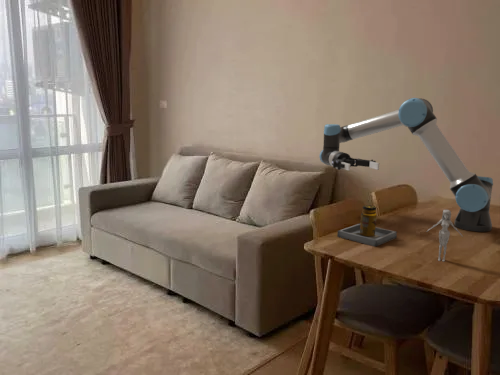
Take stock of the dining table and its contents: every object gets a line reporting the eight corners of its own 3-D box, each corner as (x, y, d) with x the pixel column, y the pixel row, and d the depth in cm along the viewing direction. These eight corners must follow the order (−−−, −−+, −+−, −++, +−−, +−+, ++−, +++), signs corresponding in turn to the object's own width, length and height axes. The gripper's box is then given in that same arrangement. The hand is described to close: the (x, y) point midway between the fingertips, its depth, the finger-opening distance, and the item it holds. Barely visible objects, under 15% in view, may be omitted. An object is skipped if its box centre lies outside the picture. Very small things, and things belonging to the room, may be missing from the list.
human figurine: (423, 258, 173) (428, 208, 169) (424, 255, 176) (429, 206, 173) (459, 264, 168) (465, 213, 164) (460, 260, 171) (466, 211, 168)
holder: (396, 237, 197) (396, 231, 196) (375, 246, 184) (375, 240, 184) (359, 229, 208) (359, 223, 208) (337, 236, 196) (337, 230, 195)
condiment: (379, 236, 195) (382, 207, 193) (363, 239, 191) (365, 209, 188) (366, 231, 201) (369, 203, 199) (351, 234, 197) (353, 205, 195)
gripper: (364, 167, 227) (389, 174, 207) (314, 169, 219) (336, 176, 200) (365, 151, 225) (390, 157, 205) (315, 152, 218) (337, 158, 198)
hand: (364, 167), depth 202 cm, fingers open, 13 cm apart
